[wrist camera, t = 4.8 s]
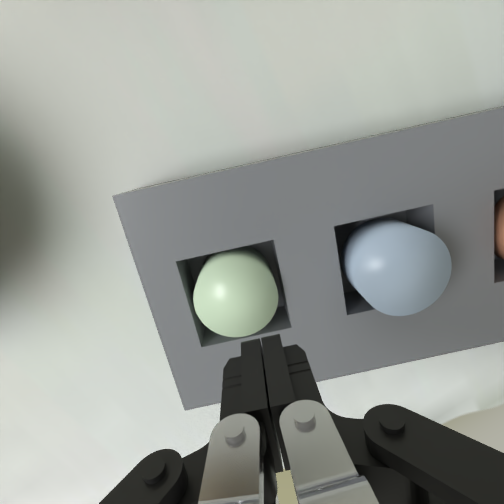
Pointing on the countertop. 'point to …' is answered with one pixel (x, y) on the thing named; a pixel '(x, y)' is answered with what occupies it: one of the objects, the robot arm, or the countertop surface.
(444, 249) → the slate button
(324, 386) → the countertop surface
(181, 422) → the countertop surface
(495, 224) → the terracotta button
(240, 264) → the sage button
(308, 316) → the button panel
